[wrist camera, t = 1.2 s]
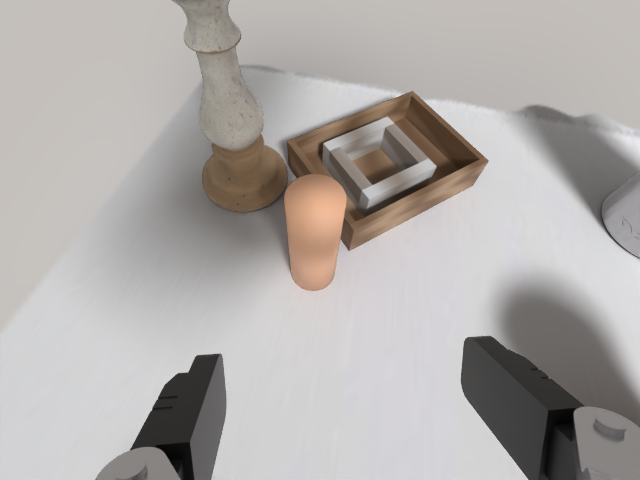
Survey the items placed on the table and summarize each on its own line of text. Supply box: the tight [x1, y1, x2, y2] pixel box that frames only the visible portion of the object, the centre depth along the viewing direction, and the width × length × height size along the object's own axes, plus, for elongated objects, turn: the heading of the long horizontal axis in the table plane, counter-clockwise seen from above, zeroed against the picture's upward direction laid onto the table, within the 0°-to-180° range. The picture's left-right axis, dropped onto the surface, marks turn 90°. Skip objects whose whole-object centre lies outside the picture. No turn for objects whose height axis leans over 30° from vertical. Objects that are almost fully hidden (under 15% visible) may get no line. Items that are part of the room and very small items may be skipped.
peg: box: [284, 174, 347, 291], centre depth 27 cm, size 4×4×11 cm
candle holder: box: [172, 0, 287, 212], centre depth 28 cm, size 9×9×20 cm
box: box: [287, 91, 488, 251], centre depth 36 cm, size 16×12×4 cm
